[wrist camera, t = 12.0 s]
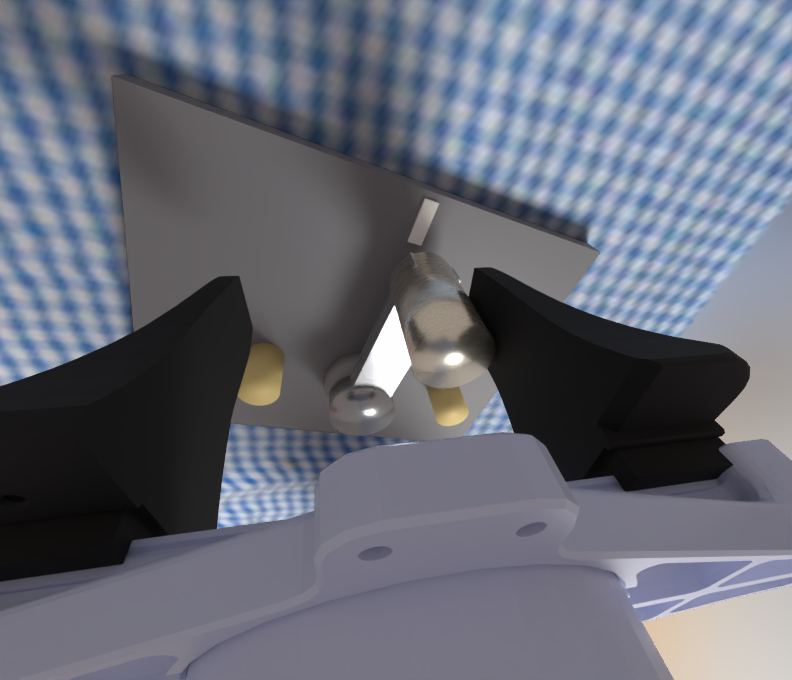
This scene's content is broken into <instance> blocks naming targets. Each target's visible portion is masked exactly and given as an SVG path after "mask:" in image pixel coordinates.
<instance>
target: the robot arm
mask: <svg viewBox="0 0 792 680" xmlns="http://www.w3.org/2000/svg"><path fill="white" fill-rule="evenodd" d="M468 297H469V299H470V301H471V302H472V304H473V306H474V307H475V309H476V311H477V312H478V314H479V316H480V317H481V319H482V321H483V323H484V324H485V326H486V328H487V329H488V331H489V333H490V334H491V336H492V338H493V340H494V342H495V355H494V358H493V360H492V362H491V364H490V365H489V367H488V368H487V369H488V371H489V373H490V375H491V377H492V379H493V381H494V383H495V385H496V387H497V389H498V391H499V393H500V395H501V398H502V401H503V403H504V406H505V409H506V411H507V414H508V416H509V419H510V422H511V425H512V428H513V431H514V433H504V432H501V433H492V434H483V435H474V436H464V437H455V438H446V439H437V440H428V441H418V442H409V443H400V444H391V445H382V446H373V447H369V448H366V449H362V450H358V451H354V452H351V453H347V454H345V455H343V456H342V457H340V458H339V459H338V460H336V461H335V462H333V463H332V464H331V465H329V466H328V467H326V468H325V469H324V470H323V471H321V472H320V475H319V478H318V482H317V485H316V488H315V511H312V512H309V513H306V514H303V515H300V516H296V517H293V518H290V519H287V520H279V521H272V522H264V523H257V524H249V525H242V526H235V527H227V528H220V529H217V520H218V510H219V501H220V492H221V484H222V475H223V468H224V461H225V454H226V447H227V441H228V435H229V429H230V423H231V418H232V414H233V410H234V406H235V403H236V399H237V396H238V393H239V389H240V386H241V382H242V379H243V376H244V372H245V369H246V365H247V362H248V358H249V355H250V349H251V342H252V333H253V326H252V322H251V318H250V314H249V311H248V307H247V303H246V299H245V295H244V292H243V288H242V284H241V280H240V277H239V276H219V277H217V278H215V279H213V280H212V281H210V282H209V283H207V284H206V285H204V286H203V287H202V288H200V289H199V290H197V291H196V292H195V293H193V294H192V295H190V296H189V297H188V298H186V299H185V300H183V301H182V302H181V303H179V304H178V305H176V306H175V307H173V308H172V309H170V310H169V311H167V312H166V313H164V314H163V315H161V316H159V317H158V318H156V319H155V320H153V321H152V322H150V323H148V324H147V325H145V326H143V327H142V328H140V329H138V330H136V331H135V332H133V333H131V334H129V335H127V336H125V337H123V338H121V339H119V340H117V341H115V342H113V343H111V344H109V345H107V346H105V347H103V348H100V349H98V350H96V351H93V352H91V353H89V354H87V355H84V356H82V357H80V358H77V359H75V360H73V361H70V362H68V363H65V364H63V365H60V366H58V367H55V368H52V369H50V370H47V371H44V372H41V373H39V374H36V375H33V376H30V377H27V378H24V379H21V380H18V381H15V382H12V383H9V384H6V385H3V386H0V680H674V679H673V677H672V675H671V674H670V672H669V670H668V668H667V666H666V665H665V663H664V661H663V659H662V658H661V656H660V654H659V652H658V650H657V648H656V647H655V645H654V643H653V641H652V639H651V638H650V636H649V634H648V632H647V630H646V629H645V627H644V625H643V623H642V622H645V621H649V620H653V619H657V618H660V617H664V616H668V615H672V614H675V613H679V612H683V611H687V610H691V609H694V608H698V607H702V606H706V605H710V604H714V603H718V602H722V601H725V600H730V599H733V598H738V597H742V596H747V595H751V594H755V593H759V592H763V591H768V590H773V589H778V588H782V587H787V586H791V585H792V461H791V460H790V459H789V458H788V457H787V456H786V455H784V454H783V453H782V452H781V451H780V450H779V449H777V448H776V447H775V446H774V445H773V444H772V443H771V442H769V441H768V440H764V439H760V440H751V441H743V442H735V443H730V444H725V443H724V442H723V441H722V440H721V439H720V438H719V437H720V436H722V435H723V434H724V433H725V432H724V429H723V428H722V427H721V426H720V425H719V424H718V423H717V422H716V421H715V419H716V418H717V417H718V416H719V415H720V414H721V413H722V412H723V411H724V410H725V409H726V408H727V407H728V406H729V405H730V404H731V403H732V402H733V400H734V399H735V398H736V397H737V396H738V395H739V394H740V393H741V391H742V390H743V389H744V388H745V386H746V384H747V382H748V380H749V376H750V366H749V365H748V363H747V362H746V361H745V360H744V359H742V358H741V357H739V356H738V355H737V354H735V353H734V352H732V351H731V350H730V349H728V348H727V347H725V346H722V345H720V344H714V343H708V342H702V341H696V340H689V339H683V338H678V337H672V336H668V335H663V334H659V333H654V332H650V331H645V330H642V329H638V328H634V327H630V326H626V325H623V324H620V323H616V322H613V321H610V320H606V319H603V318H600V317H597V316H595V315H592V314H589V313H587V312H584V311H582V310H579V309H576V308H574V307H571V306H569V305H567V304H565V303H562V302H560V301H558V300H556V299H554V298H552V297H550V296H548V295H546V294H544V293H542V292H540V291H538V290H536V289H534V288H532V287H530V286H528V285H526V284H524V283H523V282H521V281H519V280H517V279H515V278H513V277H511V276H509V275H508V274H506V273H504V272H502V271H499V270H497V269H495V268H492V267H482V268H474V272H473V277H472V282H471V287H470V291H469V296H468Z"/></svg>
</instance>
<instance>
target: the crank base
mask: <svg viewBox="0 0 792 680" xmlns="http://www.w3.org/2000/svg"><path fill="white" fill-rule="evenodd" d="M112 88H113V99H114V111H115V122H116V134H117V145H118V156H119V168H120V179H121V191H122V202H123V214H124V225H125V237H126V248H127V259H128V271H129V282H130V294H131V305H132V317H133V328H134V332H135V331H136V330H138V329H140V328H142V327H143V326H145V325H147V324H148V323H150V322H152V321H153V320H155V319H156V318H158V317H159V316H161V315H163V314H164V313H166V312H167V311H169V310H170V309H172V308H173V307H175V306H176V305H178V304H179V303H181V302H182V301H183V300H185V299H186V298H188V297H189V296H190V295H192V294H193V293H195V292H196V291H197V290H199V289H200V288H202V287H203V286H204V285H206V284H207V283H209V282H210V281H212V280H213V279H215V278H217V277H219V276H239V277H240V280H241V284H242V288H243V292H244V295H245V299H246V303H247V307H248V311H249V314H250V318H251V322H252V326H253V333H252V342H251V349H250V355H249V358H248V362H247V365H246V369H245V372H244V376H243V379H242V382H241V386H240V389H239V393H238V396H237V399H236V403H235V406H234V410H233V414H232V418H231V424H242V425H253V426H264V427H275V428H286V429H297V430H308V431H319V432H330V433H341V432H339V431H337V430H336V429H335V428H334V427H333V426H332V425H331V423H330V420H329V392H330V390H331V388H332V387H333V385H334V384H335V383H336V382H337V381H339V380H340V379H342V378H344V377H346V376H349V375H351V372H352V370H353V368H354V366H355V364H356V362H357V360H358V358H359V356H360V354H361V352H362V350H363V348H364V346H365V344H366V342H367V340H368V337H369V335H370V333H371V331H372V329H373V327H374V325H375V323H376V321H377V319H378V317H379V315H380V313H381V311H382V309H383V307H384V305H385V302H386V300H387V298H388V296H389V294H390V292H391V291H390V277H391V274H392V272H393V270H394V268H395V267H396V266H397V264H398V263H399V262H400V261H402V260H403V259H404V258H406V257H407V256H408V255H409V253H410V252H411V253H413V254H414V253H418V252H432V253H435V254H438V255H440V256H441V257H443V258H444V259H445V260H446V261H447V262H448V264H449V265H450V267H452V268H454V269H455V271H456V272H457V274H458V276H459V277H460V279H461V282H460V284H461V285H462V287H463V289H464V291H465V292H466V294H467V296H469V291H470V287H471V282H472V277H473V272H474V268H482V267H492V268H495V269H497V270H499V271H502V272H504V273H506V274H508V275H509V276H511V277H513V278H515V279H517V280H519V281H521V282H523V283H524V284H526V285H528V286H530V287H532V288H534V289H536V290H538V291H540V292H542V293H544V294H546V295H548V296H550V297H552V298H554V299H556V300H558V301H560V302H562V303H563V302H564V301H565V299H566V298H567V297H568V295H569V294H570V293H571V291H572V290H573V289H574V287H575V286H576V285H577V283H578V282H579V281H580V279H581V278H582V277H583V275H584V274H585V273H586V271H587V270H588V269H589V267H590V266H591V265H592V263H593V262H594V261H595V259H596V258H597V257H598V255H599V254H600V252H599V251H598V250H596V249H595V248H594V247H592V246H591V245H589V244H588V243H585V242H583V241H580V240H577V239H574V238H572V237H569V236H566V235H563V234H561V233H558V232H555V231H553V230H550V229H547V228H544V227H542V226H539V225H536V224H533V223H531V222H528V221H525V220H523V219H520V218H517V217H514V216H512V215H509V214H506V213H504V212H501V211H498V210H495V209H493V208H490V207H487V206H484V205H482V204H479V203H476V202H474V201H471V200H468V199H465V198H463V197H460V196H457V195H454V194H452V193H449V192H446V191H444V190H441V189H438V188H435V187H433V186H430V185H427V184H425V183H422V182H419V181H416V180H414V179H411V178H408V177H405V176H403V175H400V174H397V173H395V172H392V171H389V170H386V169H384V168H381V167H378V166H375V165H373V164H370V163H367V162H365V161H362V160H359V159H356V158H354V157H351V156H348V155H345V154H343V153H340V152H337V151H335V150H332V149H329V148H326V147H324V146H321V145H318V144H316V143H313V142H310V141H307V140H305V139H302V138H299V137H296V136H294V135H291V134H288V133H286V132H283V131H280V130H277V129H275V128H272V127H269V126H266V125H264V124H261V123H258V122H256V121H253V120H250V119H247V118H245V117H242V116H239V115H237V114H234V113H231V112H228V111H226V110H223V109H220V108H217V107H215V106H212V105H209V104H207V103H204V102H201V101H198V100H196V99H193V98H190V97H187V96H185V95H182V94H179V93H177V92H174V91H171V90H168V89H166V88H163V87H160V86H158V85H155V84H152V83H149V82H147V81H144V80H141V79H138V78H136V77H133V76H130V75H128V74H124V75H114V76H112ZM497 391H498V389H497V387H496V385H495V383H494V381H493V379H492V377H491V375H490V373H489V371H488V369H486V370H485V371H484V372H483V373H482V374H481V375H480V376H479V377H477V378H476V379H474V380H472V381H471V382H469V383H466V384H464V385H461V386H458V387H453V388H434V387H430V386H428V385H425V384H424V383H422V382H421V381H419V380H418V379H417V378H416V376H415V374H414V372H413V369H412V366H411V365H410V366H409V368H408V370H407V371H406V373H405V375H404V376H403V378H402V380H401V381H400V383H399V385H398V386H397V388H396V390H395V391H394V393H393V395H392V396H393V401H394V406H395V416H394V419H393V420H392V422H391V423H390V424H389V425H388V426H387V427H386V428H384V429H382V430H381V431H379V432H376V433H373V434H370V435H364V436H374V437H385V438H396V439H407V440H418V441H428V440H437V439H446V438H455V437H463V436H464V435H465V433H466V432H467V431H468V429H469V428H470V427H471V425H472V424H473V423H474V421H475V420H476V419H477V417H478V416H479V415H480V413H481V412H482V411H483V409H484V408H485V407H486V405H487V404H488V403H489V401H490V400H491V399H492V397H493V396H494V395H495V393H496V392H497ZM341 434H343V433H341Z"/></svg>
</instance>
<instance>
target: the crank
mask: <svg viewBox="0 0 792 680" xmlns="http://www.w3.org/2000/svg"><path fill="white" fill-rule="evenodd" d="M460 282H461V279H460V277H459V276H458V274H457V272H456V271H455V269H454V268H452V267H450V265H449V264H448V262H447V261H446V260H445V259H444V258H443V257H441V256H440V255H438V254H435V253H432V252H418V253H414V254H413V253H411V252H410V253H409V255H408V256H407V257H406V258H404V259H403V260H402V261H400V262H399V263H398V264H397V266H396V267H395V268H394V270H393V272H392V274H391V277H390V291H391V292H390V294H389V296H388V298H387V300H386V302H385V305H384V307H383V309H382V311H381V313H380V315H379V317H378V319H377V321H376V323H375V325H374V327H373V329H372V331H371V333H370V335H369V337H368V340H367V342H366V344H365V346H364V348H363V350H362V352H361V354H360V356H359V358H358V360H357V362H356V364H355V366H354V368H353V370H352V372H351V375H349V376H346V377H344V378H342V379H340V380H339V381H337V382H336V383H335V384H334V385H333V387H332V388H331V390H330V392H329V420H330V423H331V425H332V426H333V427H334V428H335V429H336V430H337V431H339V432H341V433H343V434H347V435H352V436H364V435H370V434H373V433H376V432H379V431H381V430H382V429H384V428H386V427H387V426H388V425H389V424H390V423H391V422H392V420H393V419H394V416H395V406H394V401H393V396H392V395H393V393H394V391H395V390H396V388H397V386H398V385H399V383H400V381H401V380H402V378H403V376H404V375H405V373H406V371H407V370H408V368H409V366H410V365H411V366H412V369H413V372H414V374H415V376H416V378H417V379H418V380H419V381H421V382H422V383H424V384H425V385H428V386H430V387H434V388H453V387H458V386H461V385H464V384H466V383H469V382H471V381H472V380H474V379H476V378H477V377H479V376H480V375H481V374H482V373H483V372H484V371H485V370H486V369H487V368H488V367H489V365H490V364H491V362H492V360H493V358H494V355H495V342H494V340H493V338H492V336H491V334H490V333H489V331H488V329H487V328H486V326H485V324H484V323H483V321H482V319H481V317H480V316H479V314H478V312H477V311H476V309H475V307H474V306H473V304H472V302H471V301H470V299H469V297H468V296H467V294H466V292H465V291H464V289H463V287H462V285H461V284H460Z"/></svg>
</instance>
